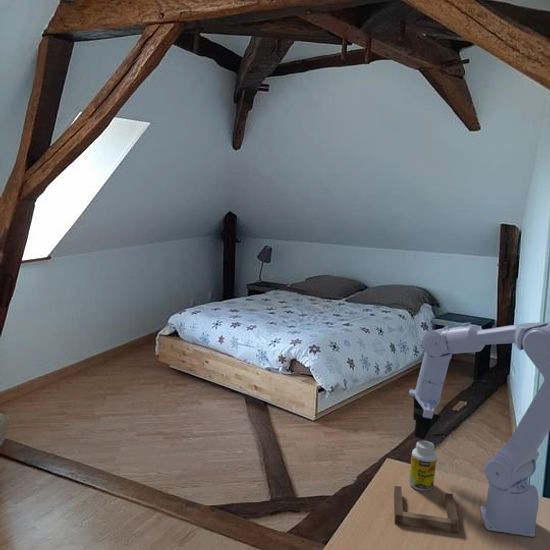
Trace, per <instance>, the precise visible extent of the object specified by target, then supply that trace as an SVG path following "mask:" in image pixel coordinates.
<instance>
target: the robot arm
mask: <svg viewBox="0 0 550 550" xmlns="http://www.w3.org/2000/svg"><path fill="white" fill-rule="evenodd" d="M421 344H422V348H423V350H424V354H423V357H422V362H421V366H420V370H419V373H418V378H417V381H416V386H415V388H413V389H412V388H411V389H409V391H408V393H409V396H411V397H412V398H413V415H412V416H413V420H414V421H415V426H414V437H415V438H416V439H421V440H425V438H426V437H427V435H428V433H430V432H429V431H430V430H431V428H432V427H433V426H434V425H435V424H436V423H437V422H438V421H439V419H440V414H436V413H435V410H436V408H437V406H438V405H439V404H440V402H441V396H442V390H443V388H444V385H445V380H446V376H447V373H448V368H449V365H450V361H451V360H452V357H453V354H454V355H455V354H456V355H457V354H464V353H468V354H469V353H477V352H481V351H482V350H483V349H484V348H485V346H487V345H502V344H504V345H505V344H514V345H515V347H516V348H517V349H518V350H519V351H523V350H524V352H525V354H526V356H527V357H528V359H529V360H530V361H531V363H532V364H533V365H534V366H535V368H536V369H537V371H539V373H540V374H541V376H542V377H543V381H542V383H541V385H540V387H539V389H538V391H537V392H536V394H535V396H534V397H533V399H532V401H531V402H530V404H529V406H528V408H527V410H526V411H525V413H524V415H523V416H522V418H521V419H520V421H519V422H518V424H517V426H516V428H515V430H514V431H513V433H512V435H511V437H510V438H509V439H508V441H507V442H506V443H505V444H504V445H502V447H501V448H499V449H498V450H497V453H496V454H495V455H493V456H492V457H490V458H488V459H487V460H486V461H485V464H484V474H485V477H486V479H487V481H488V488H487V495H486V501H485V502H486V503H485V505H481V506H480V507H479V509H480V512H481V516H482V520H483V524H484V527H485V529H486V530H487V531H490V532H492V531H493V532H497V533H506V534H511V535H519V536H525V537H532V538H534V537H535V536H536V533H535V531H536V526H537V525H536V523H537V519H538V518H537V517H538V512H539V493H538V489H537V487H536V486H535V485H533V484H530V483H528V482H529V477H532V476H533V475H534V474H535V472H536V469H537V460H538V458H539V456H540V453H539V451H538V449H539V448H540V446H541V444H542V443H543V441H544V440H545V438H546V437H547V435H548V433H549V432H550V322H548V321H546V322H545V321H544V322H543V321H541V322H526V323H524V322H523V323H518V324H513V325H512V324H510V325H504V326H499V327H492V328H486V329H483V328H482V327H480V326H479V325H477V324H472V323H471V322H469V321H468V322H464V323H462V324H461V326H456V327H455V326H453V327H452V326H451V325H447V326H444V327H443V328H439V329H433V330H430V331H427V332H425V334H424V335H423V337H422V341H421Z"/></svg>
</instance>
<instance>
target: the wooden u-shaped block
mask: <svg viewBox="0 0 550 550" xmlns="http://www.w3.org/2000/svg"><path fill="white" fill-rule="evenodd" d="M444 505H445V506H444V507H445V511H446V517H441V516H434V515H428V514H421V513H414V512H407V511H404V509H403V490H402V486H399V485H394V487H393V507H394V508H393V509H394V511H393V512H394V524H396V525H401V526H402V525H403V526H408V527H409V526H410V527H415V528H422V529H426V530H427V529H428V530H435V531H442V532H448V533H453V534H459V528H460V522H459V518H458V514H457V512H458V511H457V508H456V502H455V499H454V494H453V493H447V492H445V496H444Z"/></svg>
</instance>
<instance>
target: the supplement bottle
mask: <svg viewBox="0 0 550 550" xmlns="http://www.w3.org/2000/svg"><path fill="white" fill-rule="evenodd" d="M410 458H411V459H410V466H409V467H410V468H409V476H408V483H409V485H410V486H411V487H412V488H413V489H414V490H415V489H416V490H417V491H423V492H426V491H430V490H432V489H433V487H434V483H435V475H436V468H437V459H438V456H437V453H436V452H435V444H434V443H433V442H430V441H428V440H418V441H417V442H416V444H415V447H414V449H412V452H411V457H410Z"/></svg>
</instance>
